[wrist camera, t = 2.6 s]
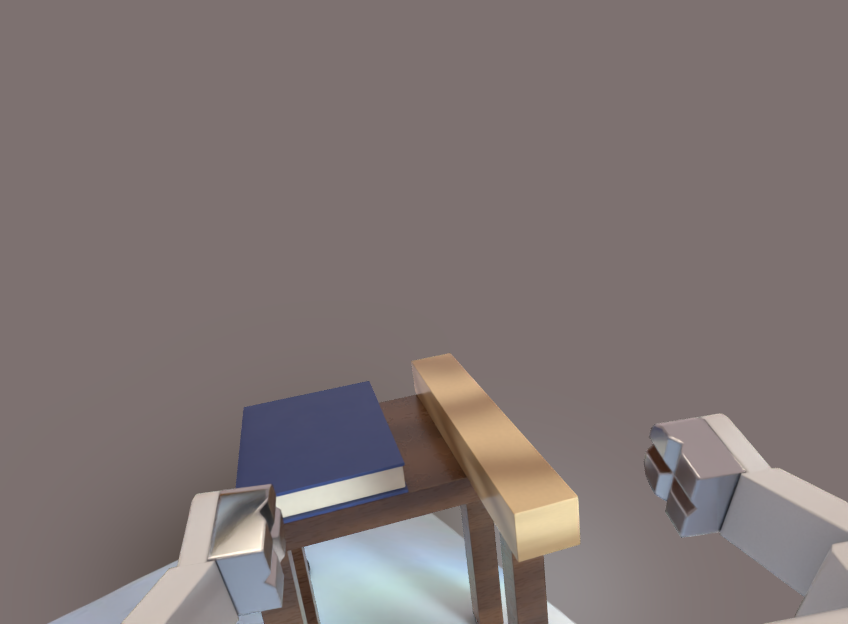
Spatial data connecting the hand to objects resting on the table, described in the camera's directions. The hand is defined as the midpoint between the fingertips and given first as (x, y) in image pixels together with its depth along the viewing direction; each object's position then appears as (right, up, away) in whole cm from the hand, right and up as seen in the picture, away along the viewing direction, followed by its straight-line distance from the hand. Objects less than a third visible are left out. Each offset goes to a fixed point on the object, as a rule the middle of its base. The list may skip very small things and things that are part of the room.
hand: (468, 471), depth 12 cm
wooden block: (+3, -6, +29) cm, 30 cm away
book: (-9, -7, +31) cm, 33 cm away
